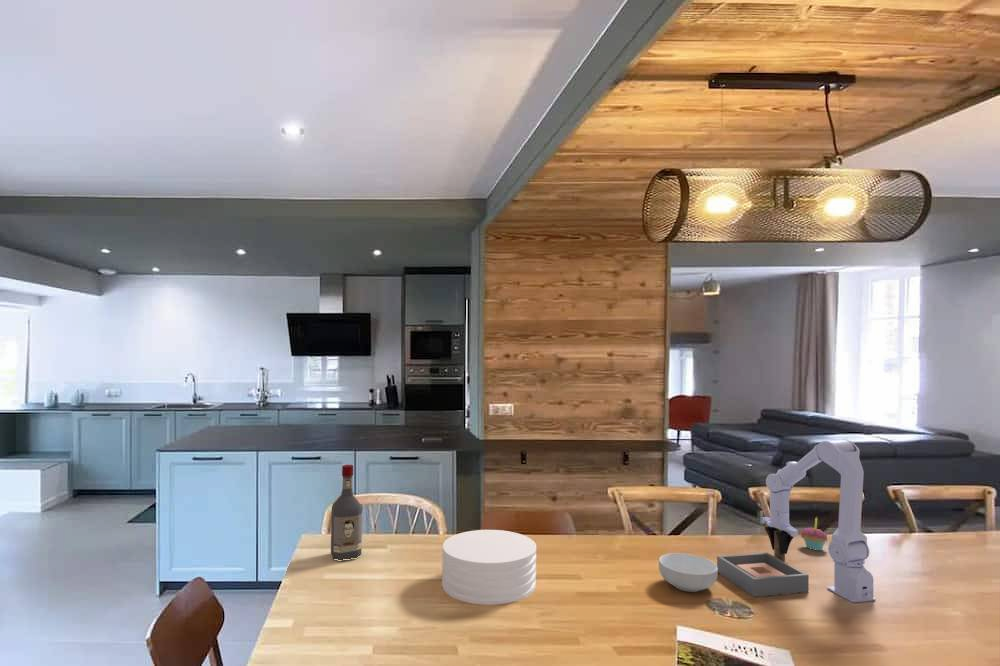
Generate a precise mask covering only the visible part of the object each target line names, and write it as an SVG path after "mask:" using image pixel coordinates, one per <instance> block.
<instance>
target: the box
mask: <svg viewBox="0 0 1000 666" xmlns="http://www.w3.org/2000/svg"><path fill="white" fill-rule="evenodd" d="M716 558H717V559H716V565H717V568H718V574H719V573H720V574H719V575H721V576H722V575H723V576H722V577H724V578H725V577H726V578H725V579H727V580H728V581H730V582H731V583H732V584H734V585H736V586H737V587H738V588H740V589H742V590H743V591H744V590H745V592H746V593H748V594H749V595H750V594H751V595H750V596H752V597H753V596H754V598H757V597H756V596H760V597H768V596H767V595H771V596H779V595H778V594H782V595H788V594H787V593H793V594H799V593H798V592H804V593H809V592H808V591H809V590H810V589H809V588H810V587H809V585H810V584H809V581H810V580H809V576H810V575H809V574H808V573H806V572H804V571H802V570H800V569H798V568H797V567H795V566H793V565H791V564H789V563H787V562H786V561H785V562H784V561H782V560H780V559H778V558H776V557H774V554H773V555H772V554H770V553H769V552H756V553H743V554H742V553H741V554H729V555H728V554H727V555H717V556H716Z"/></svg>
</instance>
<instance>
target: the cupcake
mask: <svg viewBox="0 0 1000 666" xmlns="http://www.w3.org/2000/svg"><path fill="white" fill-rule="evenodd" d="M799 533H800V534H799V535H800V538H802V539H803V540H804V542H805V545H806V546H807V547H808V548H811V549H816V550H820V551H822V550H823V548H824V545H825V543H826V542H827V541H828V534H827V533H826V532H825V531H823V530H822V529H819V528H818V516H816V517H815V518H814V527H806V528H803V529H802V530H800V532H799ZM807 547H806V548H807ZM808 548H807V549H808ZM811 549H810V550H811ZM821 549H822V550H821Z"/></svg>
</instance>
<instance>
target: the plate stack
mask: <svg viewBox="0 0 1000 666" xmlns="http://www.w3.org/2000/svg"><path fill="white" fill-rule="evenodd" d="M441 555H442V556H441V558H442V563H441V566H442V567H441V568H442V571H441V587H443V588H442V590H443V589H444V590H443V592H445V593H446V594H447V595H448V596H450V597H451V598H453V599H456V600H458V601H461V602H465V603H467V604H475V605H482V606H483V605H486V606H491V605H495V606H496V605H504V604H509V603H514V602H517V601H521V600H523V599H525V598H527V597H529V596H530V595H532V594H533V593H534V591H535V590H536V586H537V580H536V579H537V562H536V561H537V544H536V542H535V541H534V540H533V539H532V538H530V537H528V536H527V535H524V534H521V533H519V532H514V531H513V532H512V531H510V530H509V531H508V530H503V529H501V530H500V529H476V530H469V531H465V532H460V533H459V532H458V533H457V534H454V535H452V536H450V537H447V538H446V539H445V540H444V542H443V544H442V554H441ZM534 589H535V590H534Z"/></svg>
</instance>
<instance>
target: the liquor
mask: <svg viewBox="0 0 1000 666" xmlns="http://www.w3.org/2000/svg"><path fill="white" fill-rule="evenodd" d="M341 467H342V468H341V476H342V484H341V485H342V490H341V493H340V495H339V496H338V498H337V499H335V501H334V502H333V503H332V505H331V521H330V522H331V524H330V525H331V526H330V527H331V529H330V532H331V534H330V554H331V556H332V560H334V559H338V560H343V559H351V558H357V557H358V556H360V555H361V556H362V544H363V543H362V541H363V539H362V535H363V533H362V532H363V530H362V529H363V528H362V527H363V507H362V505H361V503H360V501H358V499H357V498H356V497H355V496H354V492H353V476H354V464H343V465H342V466H341ZM361 556H360V557H361ZM357 559H358V558H357Z"/></svg>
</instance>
